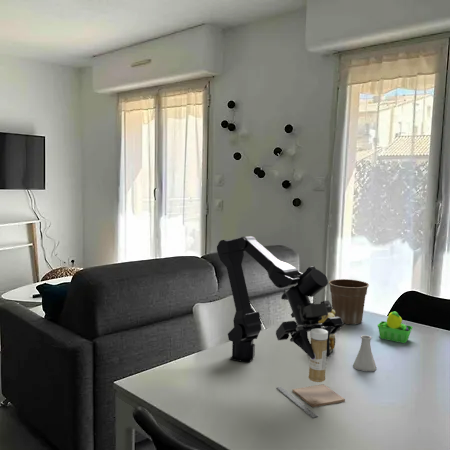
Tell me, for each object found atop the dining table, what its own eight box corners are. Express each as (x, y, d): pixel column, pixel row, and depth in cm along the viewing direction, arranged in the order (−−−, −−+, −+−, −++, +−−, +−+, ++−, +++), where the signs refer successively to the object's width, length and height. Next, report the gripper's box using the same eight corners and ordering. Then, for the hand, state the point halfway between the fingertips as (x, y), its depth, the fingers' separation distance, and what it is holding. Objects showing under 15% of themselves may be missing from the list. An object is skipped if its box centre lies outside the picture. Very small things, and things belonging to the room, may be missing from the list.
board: (292, 391, 132) (292, 389, 132) (323, 386, 136) (323, 384, 136) (312, 407, 123) (312, 405, 123) (344, 401, 127) (345, 399, 127)
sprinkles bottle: (305, 379, 128) (307, 330, 127) (313, 374, 132) (316, 326, 131) (320, 384, 125) (322, 334, 124) (328, 379, 129) (331, 330, 128)
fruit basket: (412, 339, 180) (414, 309, 179) (407, 345, 172) (409, 315, 171) (381, 333, 186) (383, 305, 185) (375, 339, 178) (376, 309, 177)
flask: (377, 373, 146) (379, 341, 145) (353, 370, 148) (355, 339, 147) (375, 364, 153) (377, 334, 153) (351, 362, 155) (353, 332, 154)
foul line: (276, 388, 134) (276, 387, 134) (281, 387, 134) (281, 386, 134) (312, 418, 117) (312, 416, 117) (317, 417, 118) (317, 415, 118)
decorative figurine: (333, 355, 160) (335, 311, 159) (308, 352, 163) (310, 309, 161) (336, 346, 169) (338, 305, 168) (313, 343, 172) (314, 302, 171)
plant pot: (345, 328, 192) (346, 288, 190) (319, 317, 206) (320, 280, 204) (375, 323, 199) (377, 285, 198) (348, 313, 213) (350, 278, 212)
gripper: (282, 292, 127) (303, 347, 117) (341, 288, 134) (365, 339, 125) (267, 313, 135) (285, 366, 125) (324, 308, 142) (344, 358, 133)
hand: (321, 357), depth 127 cm, fingers closed on sprinkles bottle, 4 cm apart
